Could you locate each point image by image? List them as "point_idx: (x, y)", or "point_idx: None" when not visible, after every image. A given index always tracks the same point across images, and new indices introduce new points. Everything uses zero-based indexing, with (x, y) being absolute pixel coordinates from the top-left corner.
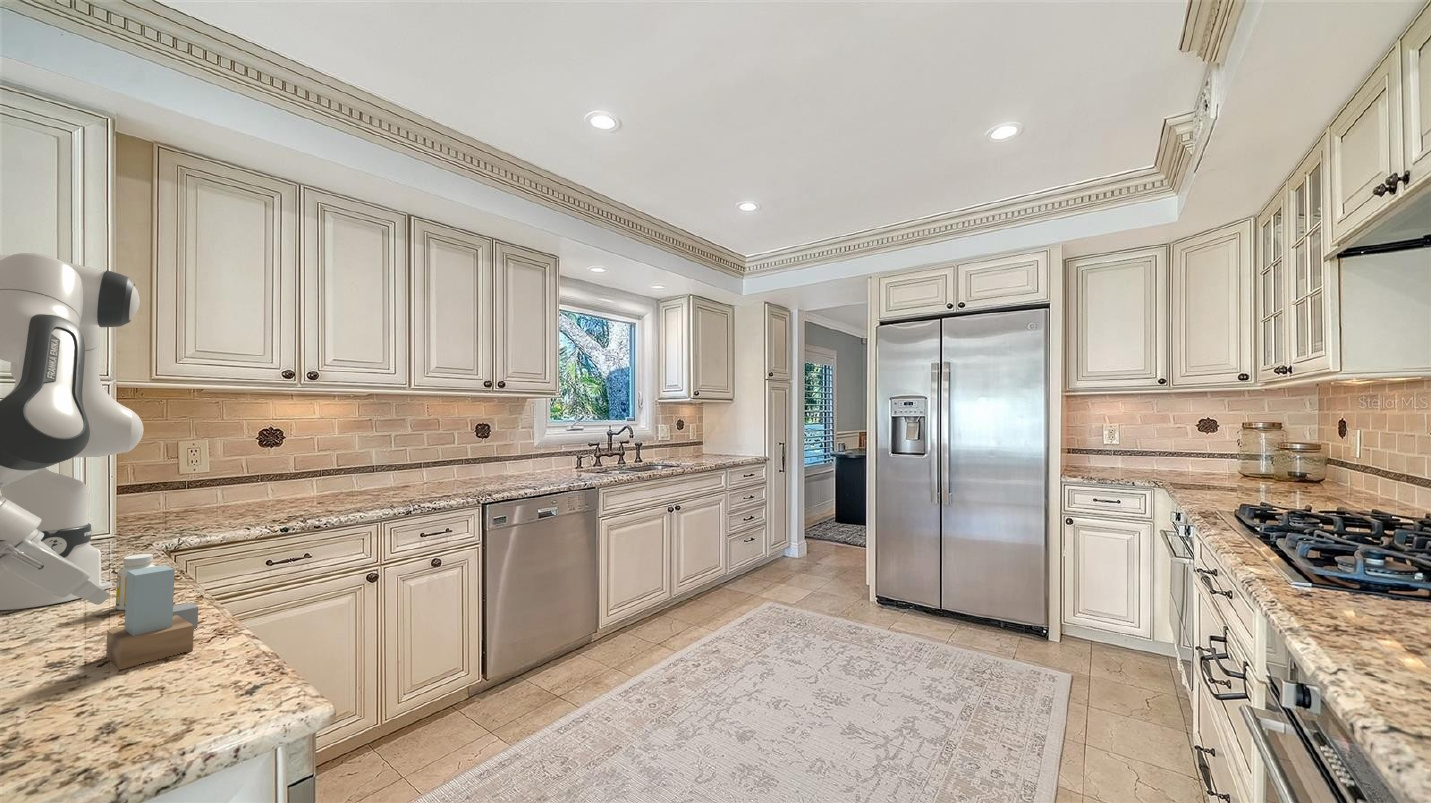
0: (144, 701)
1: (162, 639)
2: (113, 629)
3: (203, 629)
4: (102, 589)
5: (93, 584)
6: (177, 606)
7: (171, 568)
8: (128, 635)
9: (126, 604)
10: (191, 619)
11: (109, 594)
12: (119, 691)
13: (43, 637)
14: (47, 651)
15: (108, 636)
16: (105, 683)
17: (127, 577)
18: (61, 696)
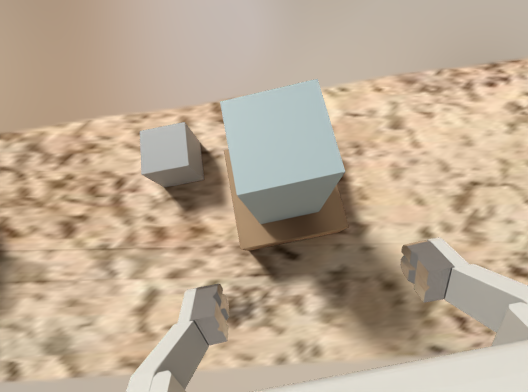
0: (521, 203)
1: None
2: (243, 240)
3: (206, 135)
4: (458, 256)
5: (520, 283)
6: (150, 150)
7: (300, 86)
8: (311, 217)
9: (262, 213)
10: (193, 141)
11: (441, 238)
12: (450, 231)
13: (46, 337)
14: (143, 327)
15: (253, 247)
16: (395, 248)
17: (250, 198)
18: (417, 298)
